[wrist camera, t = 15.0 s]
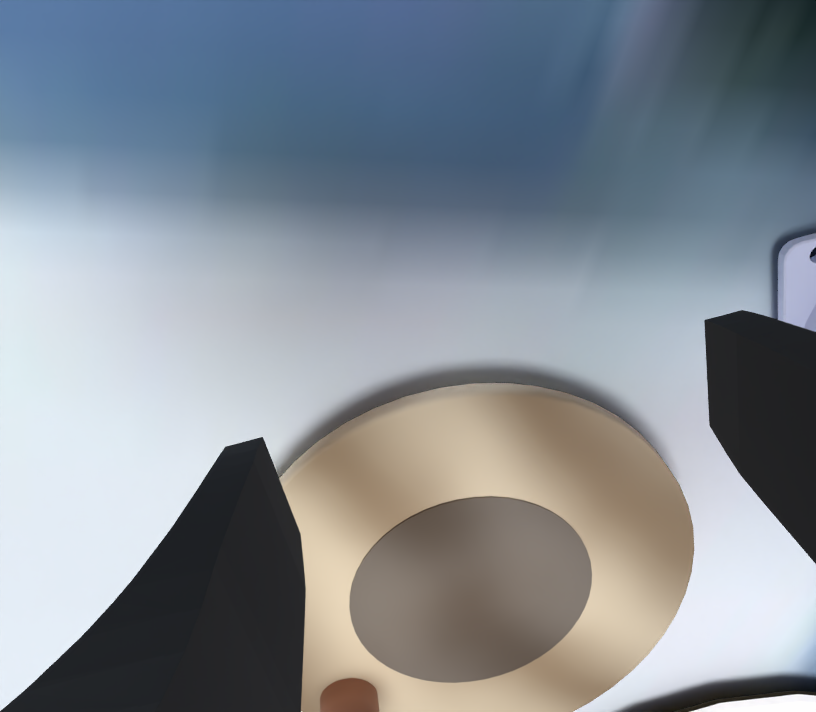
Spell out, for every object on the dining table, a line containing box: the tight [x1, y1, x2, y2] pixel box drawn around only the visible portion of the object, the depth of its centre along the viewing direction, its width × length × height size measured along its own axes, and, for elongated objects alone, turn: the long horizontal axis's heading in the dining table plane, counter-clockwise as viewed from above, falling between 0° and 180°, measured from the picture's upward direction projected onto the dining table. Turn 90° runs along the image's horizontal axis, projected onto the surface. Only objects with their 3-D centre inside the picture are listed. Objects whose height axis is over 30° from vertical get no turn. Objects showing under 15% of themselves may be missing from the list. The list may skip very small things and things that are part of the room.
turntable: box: [279, 383, 694, 712], centre depth 24 cm, size 15×15×4 cm
